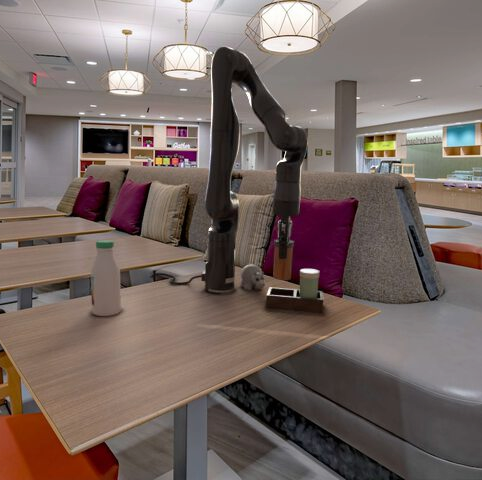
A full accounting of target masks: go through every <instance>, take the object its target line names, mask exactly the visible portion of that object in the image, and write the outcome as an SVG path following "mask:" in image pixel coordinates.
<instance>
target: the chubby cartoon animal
mask: <svg viewBox="0 0 482 480" xmlns="http://www.w3.org/2000/svg"><path fill="white" fill-rule="evenodd" d="M264 274H265V272H264V271H262V269H261V268H260V267H259V266H258V265H256V264H247V265H245V266H244V267H243V268H242V270H241V272H240V278H241V280H240V283H239V284H240V287H241V288H244V290H246V291H252V290H253V289H254V290H261V289H264V288H265V286H266V283H265V276H264Z"/></svg>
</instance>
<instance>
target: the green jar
mask: <svg viewBox="0 0 482 480" xmlns="http://www.w3.org/2000/svg"><path fill="white" fill-rule="evenodd" d="M320 274H321V273H320V270H318V269H315V268H301V269H300V270H299V290H300V291H299V297H304V298H316V299H317V294H318V291H319V279H320Z"/></svg>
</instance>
